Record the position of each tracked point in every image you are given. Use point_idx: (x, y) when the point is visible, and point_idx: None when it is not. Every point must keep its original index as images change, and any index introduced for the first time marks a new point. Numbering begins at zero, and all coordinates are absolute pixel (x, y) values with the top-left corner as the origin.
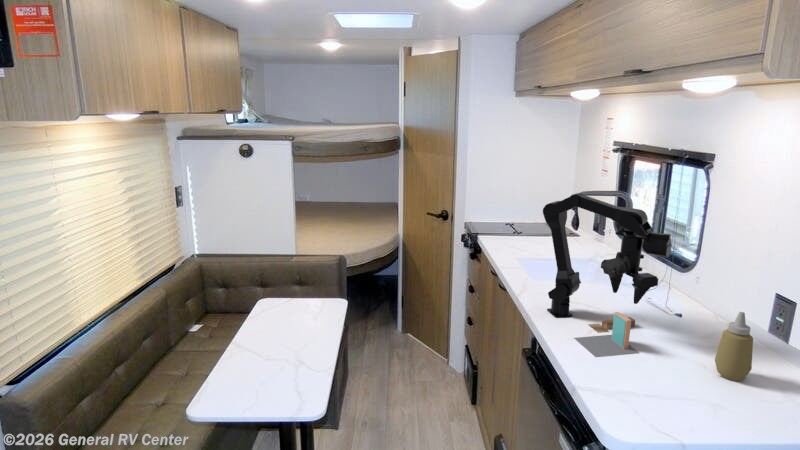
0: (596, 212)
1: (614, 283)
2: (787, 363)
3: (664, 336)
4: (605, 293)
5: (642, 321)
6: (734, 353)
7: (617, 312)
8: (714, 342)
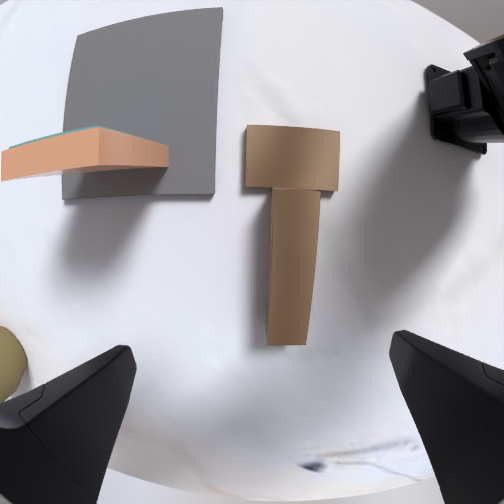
0: None
1: (446, 386)
2: None
3: (187, 376)
4: None
5: (313, 383)
6: None
7: (90, 148)
8: (149, 443)
